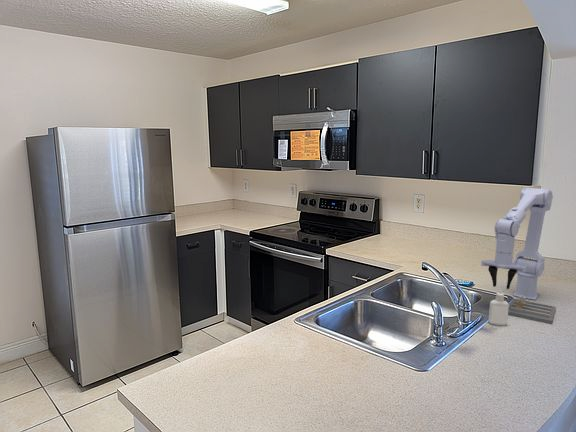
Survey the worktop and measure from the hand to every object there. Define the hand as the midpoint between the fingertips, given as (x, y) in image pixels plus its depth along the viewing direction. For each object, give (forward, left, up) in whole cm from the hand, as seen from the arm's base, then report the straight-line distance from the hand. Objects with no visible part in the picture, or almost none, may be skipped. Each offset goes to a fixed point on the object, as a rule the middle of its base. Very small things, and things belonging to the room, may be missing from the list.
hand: (501, 287), depth 151 cm
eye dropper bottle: (+15, +2, -9) cm, 17 cm away
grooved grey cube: (-7, +7, -7) cm, 12 cm away
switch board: (-4, +10, -8) cm, 14 cm away
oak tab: (0, +6, -7) cm, 9 cm away
